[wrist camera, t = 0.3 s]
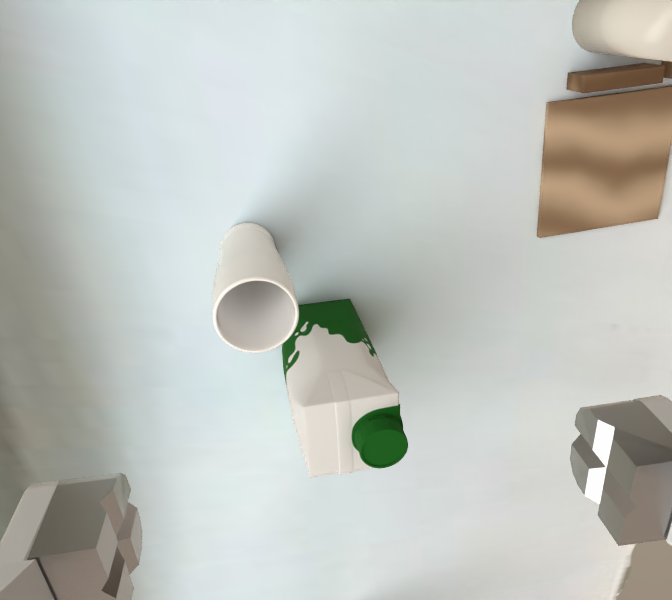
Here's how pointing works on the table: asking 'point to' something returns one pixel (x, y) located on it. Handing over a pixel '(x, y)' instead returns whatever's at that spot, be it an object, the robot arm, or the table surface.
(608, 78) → the holder
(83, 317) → the table surface
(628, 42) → the white cylinder
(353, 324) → the milk carton
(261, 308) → the drinking glass
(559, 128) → the square wooden board
